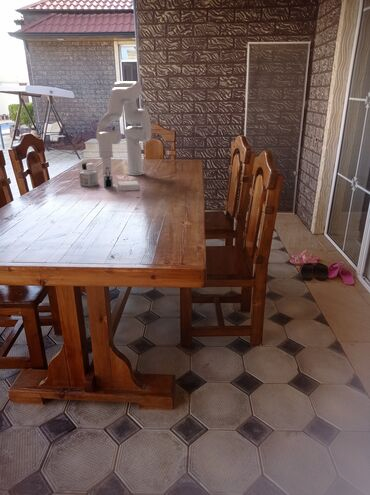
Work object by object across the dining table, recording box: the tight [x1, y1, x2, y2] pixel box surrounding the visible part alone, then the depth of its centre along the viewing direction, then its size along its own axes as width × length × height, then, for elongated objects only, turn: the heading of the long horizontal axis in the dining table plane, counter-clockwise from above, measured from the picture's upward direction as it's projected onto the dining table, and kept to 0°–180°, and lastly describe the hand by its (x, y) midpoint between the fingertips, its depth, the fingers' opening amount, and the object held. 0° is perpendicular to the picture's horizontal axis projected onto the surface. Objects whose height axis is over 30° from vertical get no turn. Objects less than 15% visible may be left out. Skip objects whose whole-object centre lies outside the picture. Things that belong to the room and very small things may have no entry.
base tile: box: [117, 180, 140, 192], centre depth 215 cm, size 11×11×3 cm
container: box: [78, 162, 99, 187], centre depth 222 cm, size 8×8×13 cm
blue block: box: [102, 175, 114, 189], centre depth 219 cm, size 5×5×6 cm
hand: (108, 185), depth 219 cm, fingers closed on blue block, 5 cm apart
